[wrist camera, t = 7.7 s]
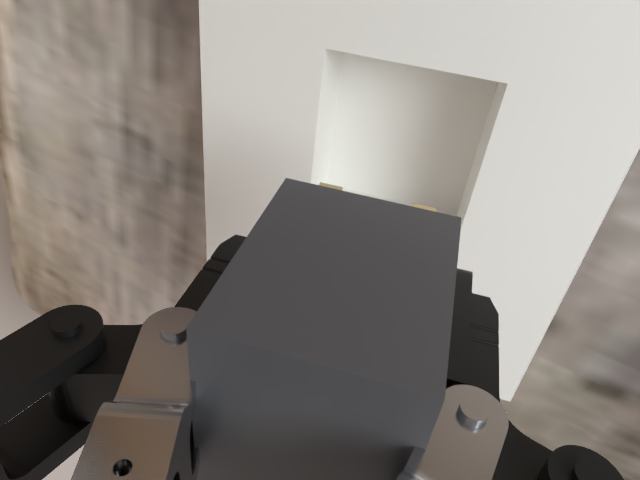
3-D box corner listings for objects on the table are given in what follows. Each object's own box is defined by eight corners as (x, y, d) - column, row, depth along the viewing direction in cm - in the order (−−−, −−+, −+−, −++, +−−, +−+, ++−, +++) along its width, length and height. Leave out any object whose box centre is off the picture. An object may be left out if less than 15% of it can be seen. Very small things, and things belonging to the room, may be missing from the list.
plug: (304, 150, 13) (186, 327, 8) (464, 184, 13) (444, 399, 8) (290, 297, 16) (197, 495, 11) (420, 331, 16) (384, 556, 11)
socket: (244, -83, 19) (183, -68, 15) (671, -16, 17) (719, 19, 13) (239, 268, 28) (201, 329, 25) (509, 339, 26) (510, 416, 23)
